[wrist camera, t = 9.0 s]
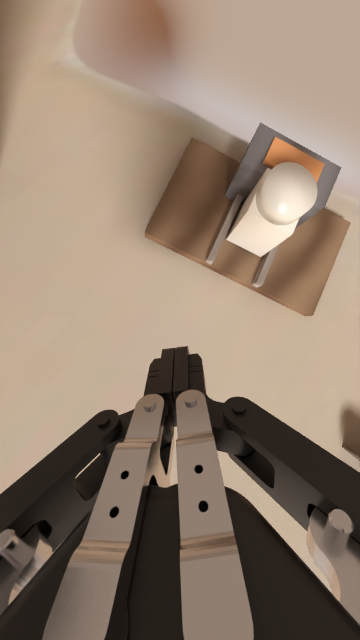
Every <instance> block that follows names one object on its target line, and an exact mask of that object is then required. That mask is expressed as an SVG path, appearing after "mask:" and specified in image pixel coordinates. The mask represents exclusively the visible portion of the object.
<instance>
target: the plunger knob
mask: <svg viewBox="0 0 360 640" xmlns="http://www.w3.org/2000/svg"><path fill="white" fill-rule="evenodd" d="M316 198H317V184H316V181H315V179H314V177H313V175H312V174H311V173H310V172H309V171H308V169H306V168H305V167H304V166H302V165H300V164H297V163H293V162H284V163H281V164H278V165H276V166H275V167H274V168H273V169H272V170H271V169H269V168H267V169H266V171H265V172H264V174H263V175H262V177H261V178H260V180H259V181H258V183H257V184H256V185H255V187H254V188H253V190H252V191H251V193H250V194H249V196H248V197H247V199H246V200H245V202H244V203H243V205H242V206H241V208H240V211H239V213H238V215H237V217H236V219H235V221H234V224H233V226H232V228H231V230H230V232H229V234H228V237H227V239H226V240H228V241H230V242H232V243H234V244H236V245H238V246H240V247H242V248H244V249H246V250H248V251H250V252H252V253H254V254H256V255H258V256H260V257H262V256H263V255H265V254H266V253H267V252H269V251H270V250H271V249H273V248H274V247H276V246H277V245H278V244H280V243H281V242H283V241H284V240H285V239H287V238H288V237H290V236H291V235H292V234H293V232H294V230H295V227H296V225H297V223H298V220H299V218H300V217H301V216H302V215H304V214H305V213H306V212H307V211H309V210H310V209H311V208H312V206H313V205H314V203H315V201H316Z"/></svg>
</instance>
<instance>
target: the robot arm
mask: <svg viewBox="0 0 360 640" xmlns="http://www.w3.org/2000/svg"><path fill="white" fill-rule="evenodd" d="M175 426H177V432H178V439H177V440H176V452H177V474H178V484H175V485H173V486H170V473H171V465H172V457H173V448H174V436H173V435H174V427H175ZM217 450H218V451H222V452H226V453H228V455H229V456H230V458H231V459H232V460H233V461H234V462H235V463H236V464H237V465H238V466H239V467H241V468H242V469H243V470H244V471H245V472H246V473H247V474H248V475H249V476H250V477H251V478H252V479H253V480H254V481H255V482H256V483H257V484H258V485H259V486H260V487H261V488H263V489H264V490H265V491H266V492H267V493H268V494H269V495H270V496H271V497H272V498H273V499H274V500H275V501H276V502H277V503H278V504H279V505H280V506H281V507H282V508H283V509H285V510H286V511H287V512H288V513H289V514H290V515H291V516H292V517H293V518H294V519H295V520H296V521H297V522H298V523H299V524H300V525H301V526H302V527H303V528H304V529H305V530H307V538H306V539H307V546H308V550H309V553H310V555H311V557H312V559H313V560H314V562H315V563H316V565H317V566H318V567H319V568H320V570H321V571H322V572H323V574H324V575H325V577H326V578H327V580H328V582H329V584H330V587H331V589H332V593H333V594H332V593H331V592H330V591H329V590H328V589H327V588H326V586H325V585H324V584H323V583H322V582H321V581H320V580H319V579H318V577H317V576H316V575H315V574H314V573H313V572H312V571H311V570H310V568H309V567H308V566H307V565H306V564H305V563H304V562H303V561H302V560H301V558H300V557H299V556H298V555H297V554H296V553H295V552H294V551H293V549H292V548H291V547H290V546H289V545H288V544H287V543H286V542H285V540H284V539H283V538H282V537H281V536H280V535H279V534H278V533H277V532H276V530H275V529H274V528H273V527H272V526H271V525H270V524H269V523H268V521H267V520H266V519H265V518H264V517H263V516H262V515H261V514H260V512H259V511H258V510H257V509H256V508H255V507H254V506H253V505H252V504H251V503H250V502H249V501H248V500H247V499H246V498H245V497H244V496H242V495H241V494H239V493H238V492H236V491H234V490H233V489H231V488H228V487H225V486H224V483H223V478H222V473H221V469H220V464H219V459H218V454H217ZM99 453H100V455H99V456H98V457H97V458H96V459H95V460H94V461H93V462H92V463H91V464H90V465H89V466H88V467H87V468H86V469H85V470H84V471H83V472H82V473H81V474H80V475H79V476H78V477H77V478H76V479H75V477H76V476H77V474H78V473H79V472H80V471H81V470H82V469H83V468H84V467H85V466H86V465H88V464H89V463H90V462H91V461H92V460H93V459H94V458H95V457H96V456H97V455H98V454H99ZM71 531H72V532H71ZM65 538H66V539H65ZM64 539H65V540H64ZM63 540H64V541H63ZM60 544H61V545H60ZM59 545H60V546H59ZM58 546H59V547H58ZM57 547H58V548H57ZM56 548H57V549H56ZM55 549H56V550H55ZM54 550H55V552H54ZM53 552H54V553H53ZM52 553H53V554H52ZM0 640H360V473H359V472H358V471H356V470H355V469H353V468H352V467H350V466H349V465H347V464H346V463H344V462H343V461H341V460H340V459H338V458H337V457H335V456H334V455H332V454H331V453H329V452H328V451H326V450H325V449H323V448H321V447H320V446H318V445H317V444H315V443H314V442H312V441H311V440H309V439H308V438H306V437H305V436H303V435H302V434H300V433H299V432H297V431H296V430H294V429H293V428H291V427H290V426H288V425H287V424H285V423H284V422H282V421H280V420H279V419H277V418H276V417H274V416H273V415H271V414H270V413H268V412H267V411H265V410H264V409H262V408H261V407H259V406H258V405H256V404H255V403H253V402H252V401H250V400H248V399H246V398H244V397H232V398H230V399H228V400H227V401H226V402H225V403H221V402H216V401H213V400H212V399H210V398H209V397H208V396H207V395H206V387H205V378H204V371H203V365H202V359H201V357H200V356H199V355H198V354H190V355H189V350H188V346H185V347H177V348H169V349H162V355H161V358H158V359H154V360H153V362H152V363H151V364H150V367H149V373H148V378H147V382H146V387H145V392H144V396H143V397H142V398H141V399H140V400H139V401H138V402H137V404H136V406H135V409H133V410H131V411H129V412H127V413H124V414H121V415H118V413H117V412H116V411H114V410H104V411H102V412H100V413H98V414H96V415H95V416H94V417H93V418H92V419H90V420H89V421H88V422H87V423H86V424H84V425H83V426H82V427H81V428H80V429H78V430H77V431H76V432H75V433H74V434H72V435H71V436H70V437H69V438H68V439H66V440H65V441H64V442H63V443H62V444H60V445H59V446H58V447H57V448H56V449H54V450H53V451H52V452H51V453H50V454H48V455H47V456H46V457H45V458H43V459H42V460H41V461H40V462H39V463H37V464H36V465H35V466H34V467H33V468H31V469H30V470H29V471H28V472H27V473H25V474H24V475H23V476H22V477H21V478H19V479H18V480H17V481H16V482H15V483H13V484H12V485H11V486H10V487H9V488H7V489H6V490H5V491H4V492H3V493H1V494H0Z"/></svg>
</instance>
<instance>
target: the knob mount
mask: <svg viewBox="0 0 360 640" xmlns="http://www.w3.org/2000/svg"><path fill="white" fill-rule="evenodd" d="M284 162H293V163H297V164H300V165H302V166H304V167H305V168H306V169H308V171H309V172H310V173H311V174H312V175H313V177H314V179H315V181H316V184H317V198H316V201H315V203H314V205H313V206H312V208H311V209H310V210H309V211H307V212H306V213H305V214H304V215H302V216H301V217H300V218H299V220H298V223H297V225H296V227H295V230H294V232H293V234H292V235H291V236H290V237H288V238H287V239H285V240H284V241H283V242H281V243H280V244H278V245H277V246H276V247H274V248H273V249H271V250H270V251H269V252H267V253H266V254H265V255H263V256H262V257H260V256H258V255H256V254H254V253H252V252H250V251H248V250H246V249H244V248H242V247H240V246H238V245H236V244H234V243H232V242H230V241H228V240H226V239H227V237H228V234H229V232H230V230H231V228H232V226H233V224H234V221H235V219H236V217H237V215H238V213H239V211H240V208H241V206H242V205H243V203H244V202H245V200H246V199H247V197H248V196H249V194H250V193H251V191H252V190H253V188H254V187H255V185H256V184H257V183H258V181H259V180H260V178H261V177H262V175H263V174H264V172H265V171H266V169H267V168H269V169H271V170H272V169H273V168H274V167H275V166H276V165H278V164H281V163H284ZM340 169H341V167H339V166H337V165H336V164H334V163H332V162H330V161H329V160H327V159H325V158H323V157H321V156H320V155H318V154H316V153H314V152H312V151H311V150H309V149H307V148H305V147H303V146H302V145H300V144H298V143H296V142H294V141H292V140H291V139H289V138H287V137H285V136H283V135H282V134H280V133H278V132H276V131H274V130H273V129H271V128H269V127H267V126H266V125H264V124H262V123H260V125H259V127H258V129H257V131H256V133H255V135H254V137H253V139H252V141H251V143H250V145H249V147H248V149H247V151H246V153H245V155H244V157H243V159H242V161H241V163H238V162H237V161H235V160H233V159H231V158H229V157H227V156H225V155H224V154H222V153H220V152H218V151H216V150H214V149H212V148H211V147H209V146H207V145H205V144H203V143H201V142H199V141H197V140H196V139H194V138H192V139H191V141H190V143H189V145H188V147H187V149H186V151H185V153H184V155H183V157H182V159H181V161H180V163H179V165H178V167H177V169H176V171H175V173H174V175H173V177H172V179H171V181H170V183H169V185H168V187H167V189H166V191H165V193H164V195H163V197H162V199H161V201H160V203H159V205H158V207H157V209H156V211H155V213H154V215H153V217H152V219H151V221H150V223H149V225H148V227H147V229H146V231H145V237H146V238H148V239H151V240H153V241H155V242H157V243H159V244H161V245H163V246H165V247H167V248H169V249H171V250H173V251H175V252H177V253H179V254H181V255H183V256H185V257H187V258H189V259H191V260H193V261H195V262H197V263H199V264H201V265H203V266H205V267H207V268H209V269H211V270H213V271H215V272H217V273H219V274H221V275H223V276H225V277H227V278H229V279H231V280H233V281H235V282H237V283H239V284H241V285H243V286H246V287H248V288H250V289H252V290H254V291H256V292H258V293H260V294H262V295H264V296H266V297H268V298H270V299H272V300H274V301H276V302H278V303H280V304H282V305H284V306H286V307H288V308H290V309H292V310H294V311H296V312H298V313H300V314H302V315H304V316H313V314H314V312H315V309H316V307H317V304H318V302H319V299H320V297H321V294H322V292H323V290H324V287H325V285H326V282H327V280H328V277H329V275H330V272H331V270H332V267H333V265H334V262H335V260H336V257H337V255H338V252H339V250H340V248H341V245H342V243H343V240H344V238H345V235H346V233H347V230H348V228H349V225H350V222H348V221H347V220H345V219H343V218H341V217H339V216H337V215H335V214H334V213H332V212H330V211H328V210H326V209H324V207H325V205H326V203H327V200H328V198H329V196H330V193H331V191H332V188H333V186H334V184H335V181H336V179H337V176H338V174H339V171H340Z"/></svg>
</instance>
